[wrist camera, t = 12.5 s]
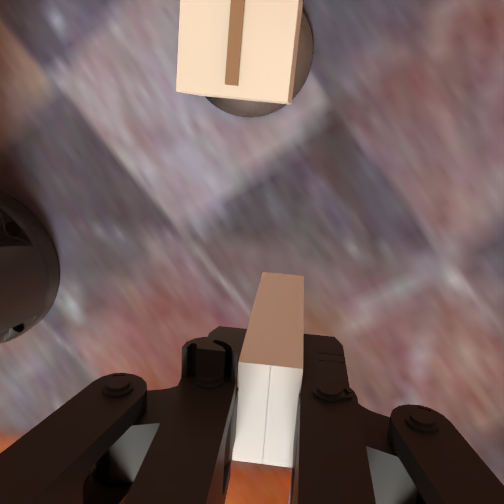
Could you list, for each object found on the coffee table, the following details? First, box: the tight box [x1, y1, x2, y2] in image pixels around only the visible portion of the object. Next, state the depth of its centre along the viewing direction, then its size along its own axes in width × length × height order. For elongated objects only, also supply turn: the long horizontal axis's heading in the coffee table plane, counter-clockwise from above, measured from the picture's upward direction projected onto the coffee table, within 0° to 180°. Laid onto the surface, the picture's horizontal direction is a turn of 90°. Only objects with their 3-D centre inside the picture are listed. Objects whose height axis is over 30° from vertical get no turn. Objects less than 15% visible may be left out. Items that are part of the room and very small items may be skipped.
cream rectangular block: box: [176, 0, 303, 104], centre depth 34 cm, size 7×7×9 cm
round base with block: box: [205, 11, 313, 117], centre depth 35 cm, size 10×10×6 cm
